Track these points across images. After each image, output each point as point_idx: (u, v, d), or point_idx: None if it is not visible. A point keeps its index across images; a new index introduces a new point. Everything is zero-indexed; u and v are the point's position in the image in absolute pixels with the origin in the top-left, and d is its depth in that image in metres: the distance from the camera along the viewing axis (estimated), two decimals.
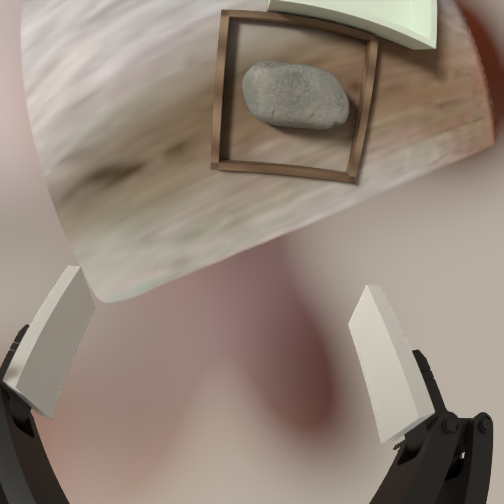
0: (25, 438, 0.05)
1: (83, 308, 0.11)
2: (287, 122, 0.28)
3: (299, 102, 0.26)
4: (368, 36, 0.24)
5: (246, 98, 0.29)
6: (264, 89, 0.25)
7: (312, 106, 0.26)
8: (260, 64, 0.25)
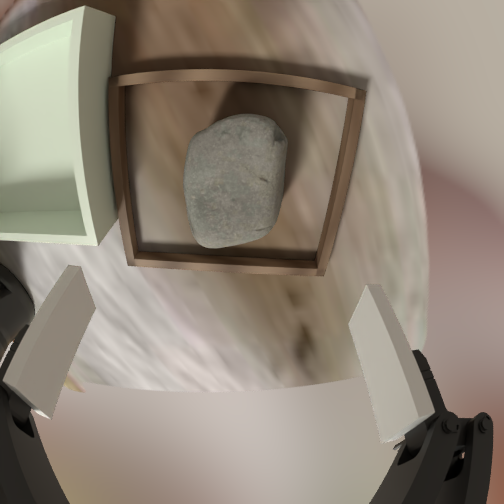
0: (25, 438, 0.05)
1: (83, 308, 0.11)
2: (275, 206, 0.21)
3: (242, 199, 0.20)
4: (113, 91, 0.18)
5: None
6: (226, 242, 0.22)
7: (248, 178, 0.19)
8: None
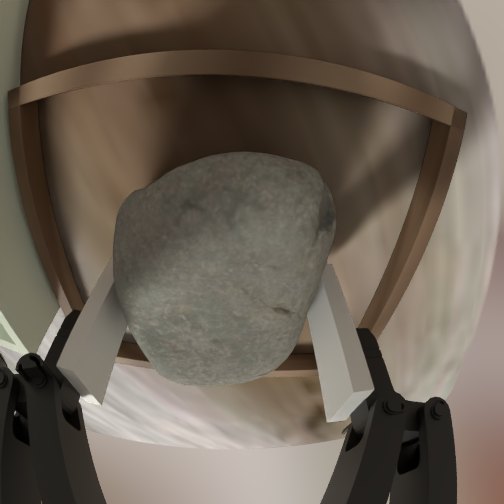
0: (72, 432, 0.06)
1: None
2: (298, 337, 0.11)
3: (234, 341, 0.09)
4: (14, 115, 0.08)
5: None
6: (206, 385, 0.11)
7: (248, 310, 0.08)
8: None
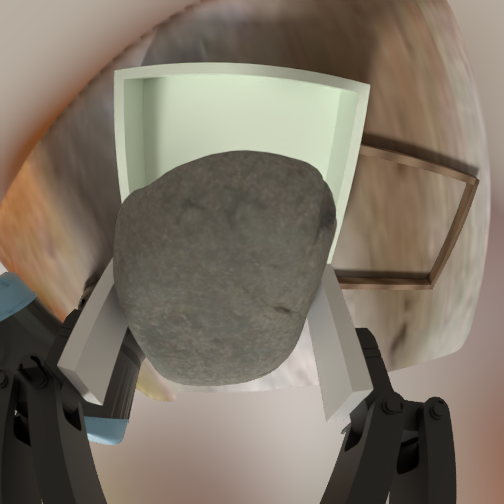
0: (73, 432, 0.06)
1: None
2: (299, 336, 0.11)
3: (235, 340, 0.09)
4: None
5: None
6: (207, 385, 0.11)
7: (249, 309, 0.08)
8: None
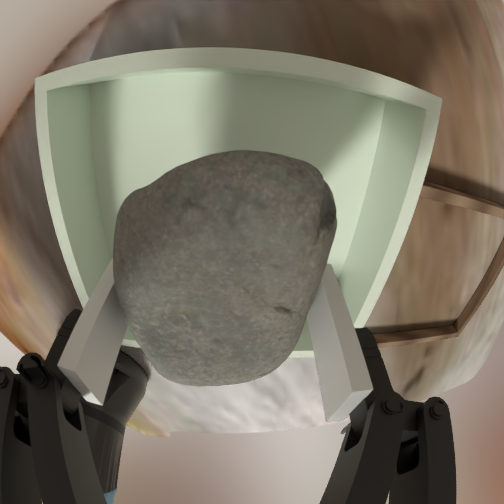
0: (73, 432, 0.06)
1: None
2: (299, 337, 0.11)
3: (235, 340, 0.09)
4: None
5: None
6: (207, 385, 0.11)
7: (249, 309, 0.08)
8: None
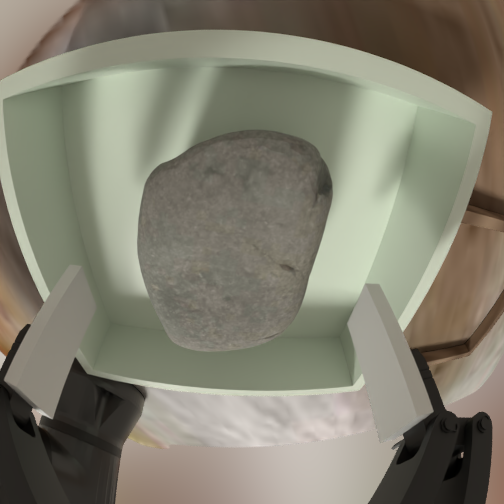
0: (26, 438, 0.05)
1: (84, 307, 0.11)
2: (301, 301, 0.12)
3: (244, 298, 0.11)
4: None
5: None
6: (216, 350, 0.13)
7: (258, 266, 0.10)
8: None
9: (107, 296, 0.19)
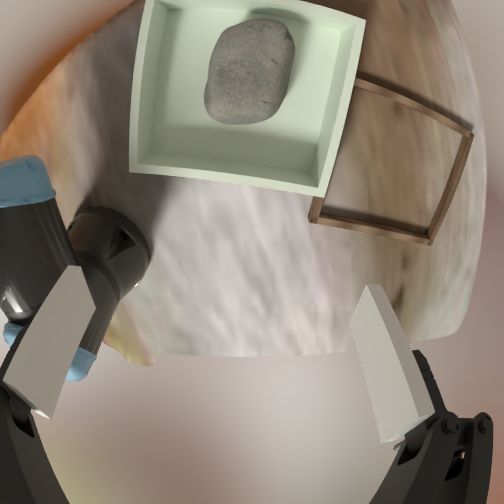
0: (25, 438, 0.05)
1: (83, 308, 0.11)
2: (280, 88, 0.22)
3: (255, 73, 0.21)
4: None
5: (247, 123, 0.28)
6: (235, 108, 0.23)
7: (262, 58, 0.20)
8: (206, 107, 0.24)
9: (158, 127, 0.29)
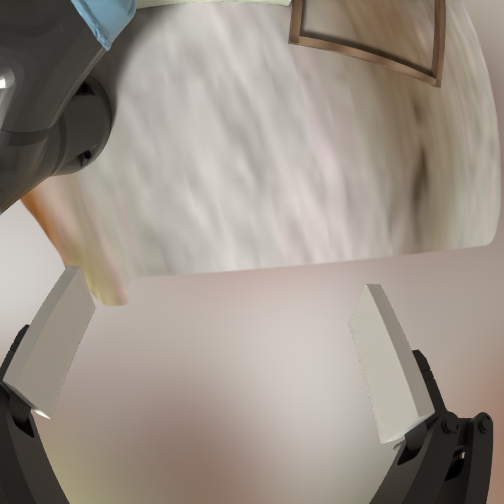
0: (25, 438, 0.05)
1: (83, 308, 0.11)
2: None
3: None
4: None
5: None
6: None
7: None
8: None
9: None
